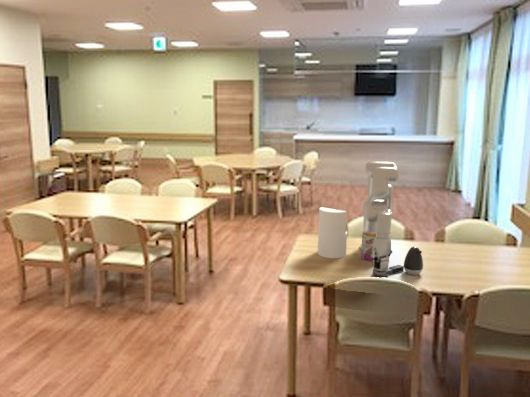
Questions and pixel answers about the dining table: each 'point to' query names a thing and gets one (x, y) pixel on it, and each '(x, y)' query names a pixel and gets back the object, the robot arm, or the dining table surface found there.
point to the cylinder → (332, 233)
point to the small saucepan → (388, 271)
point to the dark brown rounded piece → (413, 261)
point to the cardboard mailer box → (383, 263)
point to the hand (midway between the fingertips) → (380, 266)
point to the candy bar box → (367, 245)
